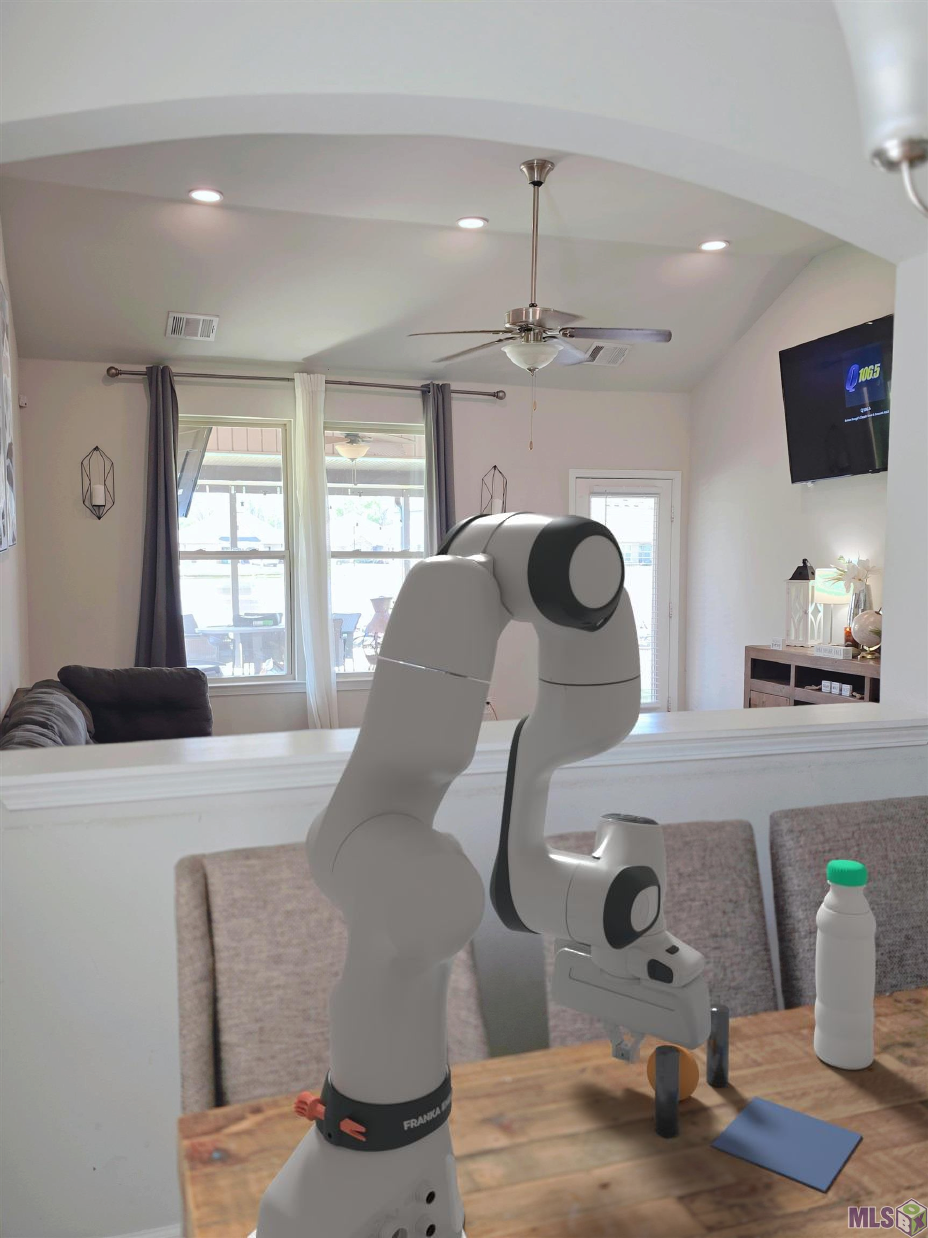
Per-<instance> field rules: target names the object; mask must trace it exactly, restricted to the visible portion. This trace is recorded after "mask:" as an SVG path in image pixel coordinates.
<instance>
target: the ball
mask: <svg viewBox="0 0 928 1238" xmlns="http://www.w3.org/2000/svg"><path fill="white" fill-rule="evenodd" d="M666 1045H668V1046H672V1047H675V1048H677V1049H678V1050H679V1052H680V1057H679V1102H680V1101H683V1100H686V1099H687V1098H689V1097H691V1095H692V1094H693V1093H694V1092H695V1091H696V1089H697V1087H698V1084H699V1081H700V1071H699V1065H698V1063H697V1061H696V1059H695V1058H694V1056H693V1055H692V1053H691V1052H690V1051H689V1050H688V1049H687V1048H684V1047H681V1046H678V1045H675V1044H672V1043H669V1044H667V1043H666ZM646 1077H647V1080H648V1082H649V1084H650V1087H651V1088H652V1089H653V1091H654V1092H655V1050H654V1051H652V1052H651V1054H650V1056H649V1057H648V1060H647V1064H646Z"/></svg>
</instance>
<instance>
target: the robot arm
mask: <svg viewBox="0 0 928 1238" xmlns="http://www.w3.org/2000/svg"><path fill="white" fill-rule="evenodd" d="M625 567H626V566H625V561H624V556H623V552H622V549H621V546H620V545H619V543H618V540H617V539H616V537H615V535H614V534H613V533H612V531H611V530H610V528H608V527H607V526H606V525H605V524H602V523H601V522H599V521H596V520H593V519H592V518H588V517H584V516H581V515H576V514H565V515H556V514H549V513H548V514H547V513H546V514H545V513H536V512H532V511H512V512H502V513H496V514H492V513H482V514H477V515H474V516H470V517H468V518H465V519H463V520H461V521H460V522H458V523H457V524H455V525H454V526H453V527H451V528H450V529H449V530H448V531H447V533H446V534H445V535H444V536H443V538H442V539H441V541H440V543H439V546H438V548H437V550H436V553H435V555H433V556H430V557H425V558H424V559H421V560H420V561H418V562H416V563H415V564H414V565H413V566H412V567H411V568H410V570H409V571H408V573H407V574H406V577H405V579H404V581H403V583H402V584H401V587H400V590H399V591H398V595H397V596H396V599H395V601H394V604H393V606H392V610H391V612H390V616H389V618H388V621H387V623H386V627H385V630H384V632H383V633H384V634H383V637H382V641H381V644H380V648H379V650H378V651H379V652H378V655H377V656H378V658H377V659H376V664H375V668H374V673H373V678H372V679H371V680H372V681H371V685H370V689H369V693H368V696H367V702H366V705H365V708H364V712H363V713H364V714H363V717H362V722H361V724H360V729H359V732H358V734H357V739H356V741H355V744H354V746H353V749H352V752H351V753H350V756H349V759H348V761H347V763H346V765H345V767H344V770H343V772H342V774H341V777H340V778H339V780H338V782H337V785H336V787H335V789H334V791H333V794H332V795H331V798H330V799H329V801H328V804H327V805H326V806H325V807H323V808H322V809H321V810H320V812H319V813H318V814H317V815H316V816H315V817H314V819H313V820H312V822H311V823H310V827H309V828H308V831H307V834H306V837H305V847H304V848H305V857H306V860H307V864H308V867H309V870H310V872H311V875H312V878H313V880H314V882H315V885H316V886H317V887H318V889H319V891H320V892H321V893H322V894H323V895H324V896H325V897H326V898H327V899H328V900H329V901H330V902H331V903H332V904H333V905H334V906H335V907H336V908H338V910H340V911H341V913H342V915H343V918H344V921H345V926H346V929H347V946H346V947H347V948H346V955H345V959H344V965H343V968H342V973H341V976H340V978H339V979H338V980H337V982H336V983H335V984H334V986H333V987H332V989H331V992H330V996H329V1068H328V1070H327V1072H326V1076H325V1079H324V1082H323V1086H322V1090H321V1092H320V1097H318V1096H317V1097H315V1096H314V1095H313V1094H311V1092H308V1091H303V1092H301V1093H300V1094H298V1095H297V1097H296V1100H295V1101H294V1103H293V1104H294V1106H293V1109H294V1113H295V1114H296V1115H298V1116H300V1117H304V1118H306V1120H308V1121H309V1122H313V1121H315V1122H313V1124H312V1126H311V1128H309V1130H308V1131H307V1133H306V1134H305V1135H304V1136H303V1138H302V1139H301V1141H300V1142H299V1144H297V1147H296V1148H295V1149H294V1151H293V1152H292V1154H290V1156H289V1158H288V1159H287V1160H286V1162H285V1163H284V1164H283V1166H282V1168H281V1169H280V1170H279V1172H278V1173H276V1176H275V1177H274V1178H273V1180H272V1181H271V1182H270V1183H269V1185H268V1186H267V1187H266V1189H265V1191H264V1193H263V1194H262V1197H261V1200H260V1204H259V1208H258V1214H257V1220H256V1221H257V1222H256V1228H255V1229H254V1230H253V1231H252V1232H251V1233H250V1234H248V1235H247V1237H246V1238H468V1237H467V1234H466V1232H465V1229H464V1222H465V1207H464V1204H463V1200H462V1198H461V1195H460V1191H459V1185H458V1184H459V1183H458V1176H457V1175H458V1174H457V1166H456V1157H455V1152H454V1147H453V1142H452V1136H451V1131H450V1124H449V1123H450V1122H449V1116H450V1114H451V1112H452V1103H453V1102H452V1100H453V1099H452V1098H453V1086H452V1073H451V1072H452V1070H451V1067H450V1065H449V1064H448V1062H447V1057H448V1056H447V1054H448V1053H447V1051H448V1049H447V1048H448V1042H447V1041H448V1040H447V1037H448V1036H447V1035H448V1029H447V1028H448V998H449V997H448V996H449V991H450V990H449V989H450V983H451V978H452V974H453V969H454V965H455V962H456V959H457V956H458V953H459V952H461V950H463V949H464V948H465V947H466V946H467V945H468V944H469V943H470V942H471V940H472V939H473V937H474V936H475V935H476V933H477V931H478V929H479V928H480V925H481V923H482V920H483V916H484V913H485V908H486V892H485V891H486V890H485V886H484V882H483V878H482V876H481V874H480V873H479V871H478V870H477V868H476V866H474V864H473V863H472V861H471V860H470V859H469V857H468V856H467V855H466V854H465V852H464V851H463V850H462V849H461V847H460V846H459V845H458V844H457V843H456V842H455V841H454V840H453V839H452V838H450V837H449V836H447V835H445V834H443V833H441V832H440V831H439V830H437V829H435V828H434V827H433V825H434V819H435V817H436V815H437V812H438V810H439V807H440V805H441V804H442V801H443V799H444V797H445V795H446V793H447V791H448V790H449V788H450V787H451V785H452V784H453V782H454V781H455V780H456V778H458V776H460V775H461V774H463V772H465V771H466V770H467V769H468V768H469V767H470V766H471V763H472V761H473V759H474V757H475V754H476V753H475V752H476V750H477V745H478V740H479V735H480V731H481V727H482V722H483V718H484V713H485V711H486V710H485V709H486V704H487V700H488V696H489V691H490V688H491V687H490V686H491V682H492V677H493V675H494V674H493V673H494V669H495V662H496V661H495V660H496V656H497V649H498V642H499V639H500V637H501V635H502V633H503V631H504V629H505V628H506V626H508V624H509V623H510V622H511V621H515V622H520V623H531V625H532V626H533V629H534V630H535V633H536V634H537V638H538V645H537V672H538V673H537V675H538V678H537V682H538V683H537V684H538V685H537V694H536V699H535V702H534V705H533V708H532V710H531V712H530V713H529V714H527V715H525V716H524V717H522V718H521V719H520V720H519V722H518V723H517V725H516V727H515V730H514V732H513V735H512V736H513V737H512V739H511V745H510V749H509V755H508V762H507V763H508V764H507V769H506V770H507V771H506V776H505V786H504V794H503V795H504V796H503V804H502V805H503V806H502V812H501V824H500V832H499V838H498V839H499V840H498V848H497V850H496V851H497V852H496V856H495V859H494V864H493V868H492V870H491V871H492V872H491V874H490V875H491V877H490V880H489V899H490V902H491V905H492V907H493V910H494V911H495V913H496V915H497V917H498V918H499V920H500V921H501V923H502V924H503V926H505V927H506V928H507V929H508V930H510V931H513V932H518V933H519V932H520V933H526V934H534V935H545V936H549V937H552V938H554V942H553V954H554V961H553V966H552V971H551V978H550V989H549V990H550V992H549V993H550V997H551V998H552V1000H553V1002H554V1004H556V1005H558V1006H562V1007H565V1008H567V1009H570V1010H573V1011H576V1012H579V1013H581V1014H585V1015H587V1016H590V1017H593V1018H596V1019H599V1020H602V1021H603V1029H604V1032H605V1033H606V1035H607V1038H608V1040H609V1042H610V1044H611V1057H612V1058H614V1059H617V1060H620V1061H623V1062H626V1063H629V1064H631V1065H634V1066H635V1065H636V1064H637V1063H638V1062H639V1061H640V1058H641V1047H642V1046H643V1044H644V1042H645V1041H646V1040H647V1038H648V1037H652V1038H654V1039H657V1040H658V1039H659V1040H661V1041H664V1042H668V1043H669V1044H674V1045H678V1046H681V1047H683V1048H685V1049H686V1050H690V1051H694V1050H697V1048H699V1047H700V1046H702V1045H703V1044H704V1043H705V1042H707V1039H708V1037H709V1035H710V1032H711V1010H710V1004H711V1000H710V992H709V988H708V985H707V983H706V981H705V980H704V978H703V977H702V976H701V973H702V972H703V971H704V969H705V966H706V960H705V956H704V955H703V954H702V953H701V952H699V951H698V950H697V949H695V948H693V947H691V946H690V945H688V944H687V943H685V942H683V941H681V940H680V939H679V938H677V937H676V936H674V935H673V934H671V933H670V932H669V931H668V930H667V929H666V928H667V927H666V926H667V924H666V922H667V921H666V918H665V914H664V907H663V906H664V905H663V904H664V899H665V898H666V897H665V896H666V893H667V882H668V880H667V879H668V877H667V854H666V846H665V839H664V832H663V829H662V825H661V824H660V823H658V822H657V821H656V820H654V819H652V818H650V817H646V816H645V817H644V816H641V815H640V816H639V815H632V814H622V813H612V812H611V813H606V814H603V815H601V816H600V817H599V819H598V822H597V827H596V831H595V832H596V833H595V838H594V839H595V840H594V849H593V852H592V853H591V854H590V855H586V854H581V853H576V852H571V851H566V850H559V849H557V848H556V849H555V848H553V847H552V846H550V845H549V844H548V843H547V842H546V840H545V837H544V831H545V824H546V815H547V814H546V813H547V806H548V801H549V800H548V798H549V792H550V791H549V790H550V783H551V779H552V776H553V775H554V773H555V771H556V770H557V769H559V768H561V767H563V766H566V765H570V764H573V763H576V762H581V761H584V760H587V759H588V760H589V759H590V758H593V757H596V756H598V755H601V754H603V753H605V752H608V751H610V750H611V749H613V748H615V747H617V746H618V745H619V744H621V743H622V742H623V741H624V740H625V739H626V738H627V737H628V736H629V735H630V734H631V732H632V731H633V730H634V728H635V726H636V724H637V722H638V720H639V717H640V712H641V705H642V703H641V702H642V679H641V676H642V675H641V672H642V671H641V657H640V656H641V655H640V645H639V638H638V631H637V625H636V620H635V619H636V618H635V615H634V610H633V606H632V601H631V596H630V593H629V592H628V590H627V588H626V587H625V580H626V576H625V575H626V574H625V573H626V572H625V571H626V569H625ZM379 657H381V658H379ZM620 1026H621V1027H622V1028H626V1029H629V1030H630V1037H631V1038H633V1039H634V1040H633V1041H632V1042H630V1041H627V1040H624V1036H623V1034H622V1033H623V1032H622V1031H621V1029H620Z"/></svg>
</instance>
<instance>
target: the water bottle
mask: <svg viewBox="0 0 928 1238" xmlns="http://www.w3.org/2000/svg"><path fill="white" fill-rule="evenodd" d="M826 880H827V884H828V885H829V891H828V892H827V894H826V895H825V896H824V898H823V902H822V903H821V904H820V906H819V908H818V910H817V912H816V917H815V922H816V927H817V932H816V941H815V942H816V945H815V992H816V999H815V1002H814V1003H815V1004H814V1020H815V1027H814V1032H813V1033H814V1036H813V1049H814V1052H815V1055H817V1057H818V1058H819V1059H820V1060H821V1061H822V1062H824V1063H826V1064H827V1065H830V1066H832V1067H835V1068H838V1069H842V1070H848V1071H849V1070H852V1071H855V1070H857V1071H858V1070H862V1069H865V1068H867V1067H869V1066H870V1065H871V1064H872V1063H873V1061H874V1057H875V1056H874V1055H875V1050H874V1049H875V1046H874V1045H875V1044H874V1043H875V1042H874V1035H873V1033H874V1027H875V1009H874V999H875V998H874V997H875V988H876V942H875V934H876V931H877V922H876V921H877V920H876V918H875V916H874V914H873V911H872V909H871V908H870V905H869V902H868V900H867V898H866V897H865V895H864V889H865V888H866V887H867V885H866V884H867V883H868V869H867V867H866V866H865V865H864V864H862V863H861V862H858V861H855V860H848V859H834V860H831V861H829V862H828V864H827V866H826Z"/></svg>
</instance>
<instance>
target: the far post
mask: <svg viewBox="0 0 928 1238" xmlns="http://www.w3.org/2000/svg"><path fill="white" fill-rule="evenodd" d="M710 1010H711V1032H710V1035H709V1037H708V1039H707V1040H706V1057H705V1059H706V1066H705V1067H706V1069H705V1071H706V1072H705V1074H706V1075H705V1077H706V1079H705V1080H706V1081H705V1082H706V1083H707V1084H708V1085H710V1086H712V1087H715V1088H725V1087H728V1085H729V1075H730V1073H729V1072H730V1071H729V1070H730V1069H729V1067H730V1056H729V1055H730V1052H729V1051H730V1008H729V1007H728V1006H726V1005H725V1004H721V1003H710Z"/></svg>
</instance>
